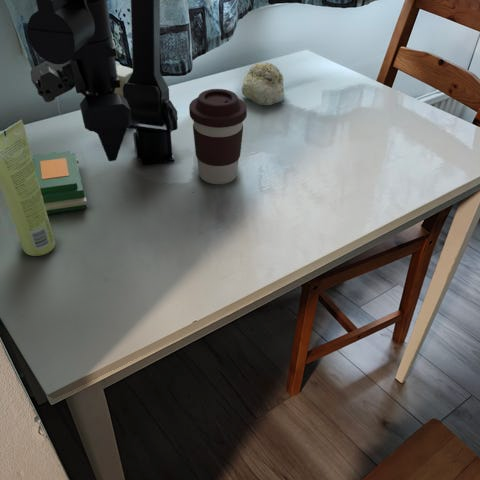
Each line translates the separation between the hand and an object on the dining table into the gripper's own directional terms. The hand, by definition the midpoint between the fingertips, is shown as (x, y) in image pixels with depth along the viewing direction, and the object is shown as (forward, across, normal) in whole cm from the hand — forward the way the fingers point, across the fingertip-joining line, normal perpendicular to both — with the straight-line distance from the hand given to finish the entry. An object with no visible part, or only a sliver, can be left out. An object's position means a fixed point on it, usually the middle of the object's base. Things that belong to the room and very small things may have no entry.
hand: (107, 145), depth 80 cm
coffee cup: (+13, -8, +20) cm, 25 cm away
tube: (+13, +5, -13) cm, 19 cm away
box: (+13, -33, +7) cm, 36 cm away
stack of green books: (+13, -10, -9) cm, 19 cm away
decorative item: (+13, -38, +40) cm, 57 cm away
